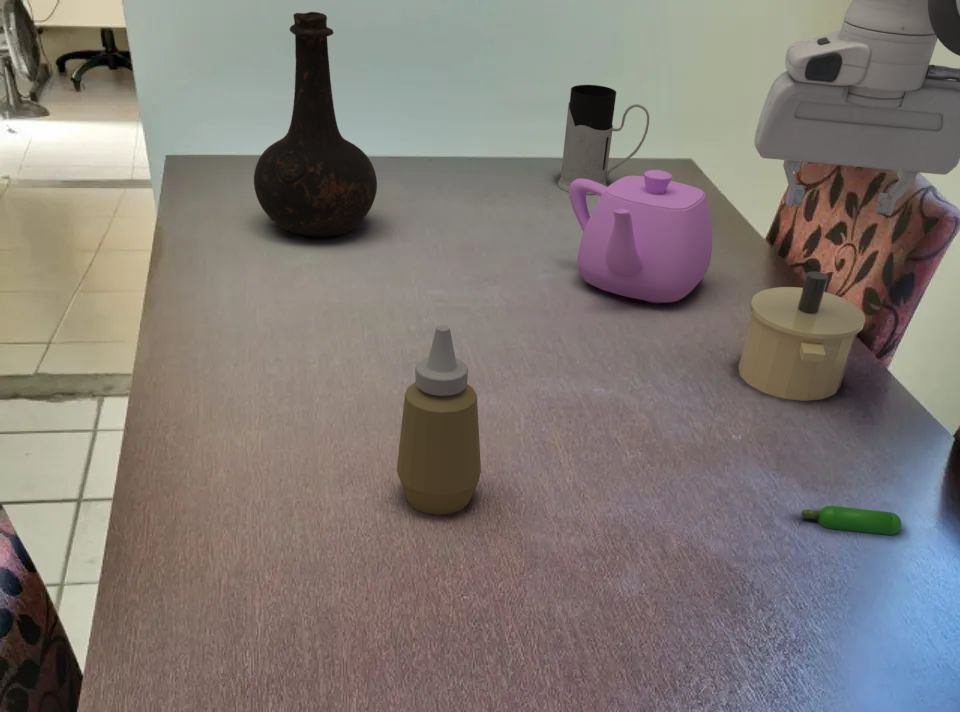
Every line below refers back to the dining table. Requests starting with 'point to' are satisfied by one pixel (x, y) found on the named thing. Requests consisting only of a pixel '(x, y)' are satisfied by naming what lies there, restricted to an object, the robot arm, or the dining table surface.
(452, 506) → the squeeze bottle
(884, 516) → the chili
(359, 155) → the glass bottle
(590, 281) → the teapot
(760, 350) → the pot
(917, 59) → the robot arm
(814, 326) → the lid
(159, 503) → the dining table surface
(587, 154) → the glass holder
